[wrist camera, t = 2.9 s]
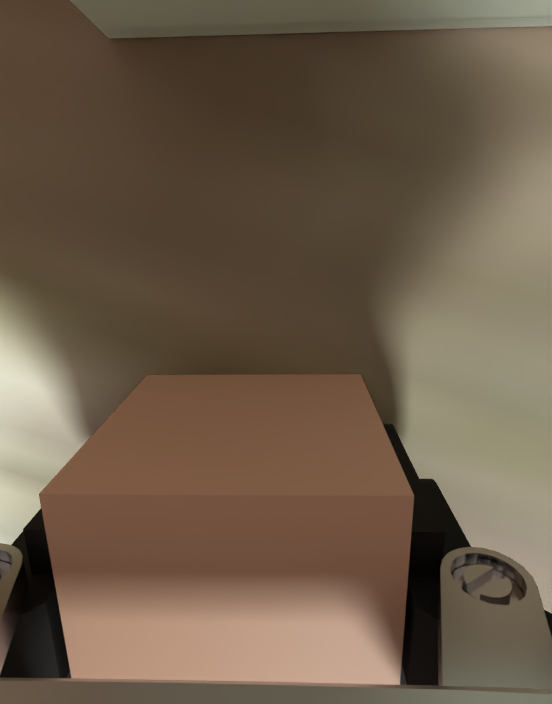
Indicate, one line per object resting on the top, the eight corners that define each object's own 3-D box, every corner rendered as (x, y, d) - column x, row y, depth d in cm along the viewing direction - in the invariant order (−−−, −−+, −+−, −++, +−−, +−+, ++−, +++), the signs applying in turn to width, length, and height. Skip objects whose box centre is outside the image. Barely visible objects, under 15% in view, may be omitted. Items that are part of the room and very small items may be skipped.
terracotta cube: (360, 373, 11) (414, 495, 6) (353, 553, 12) (393, 768, 8) (147, 373, 11) (39, 494, 6) (164, 552, 13) (86, 761, 8)
